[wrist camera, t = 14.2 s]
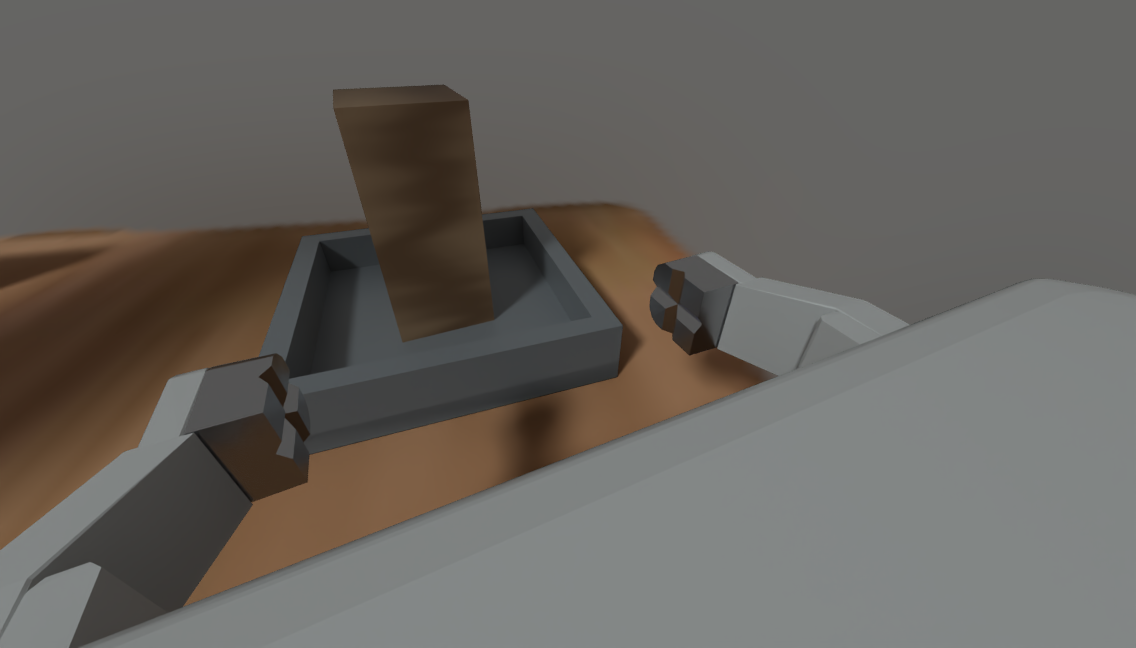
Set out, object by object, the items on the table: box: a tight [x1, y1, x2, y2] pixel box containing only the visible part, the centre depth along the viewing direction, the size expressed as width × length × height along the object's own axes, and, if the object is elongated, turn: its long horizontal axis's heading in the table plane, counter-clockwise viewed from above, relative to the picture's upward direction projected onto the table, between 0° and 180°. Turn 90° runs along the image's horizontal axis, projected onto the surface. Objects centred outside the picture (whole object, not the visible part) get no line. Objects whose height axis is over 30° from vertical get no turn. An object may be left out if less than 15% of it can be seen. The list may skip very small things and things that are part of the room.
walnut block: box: [333, 85, 494, 342], centre depth 19 cm, size 4×4×10 cm
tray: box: [259, 208, 623, 454], centre depth 22 cm, size 14×14×3 cm
